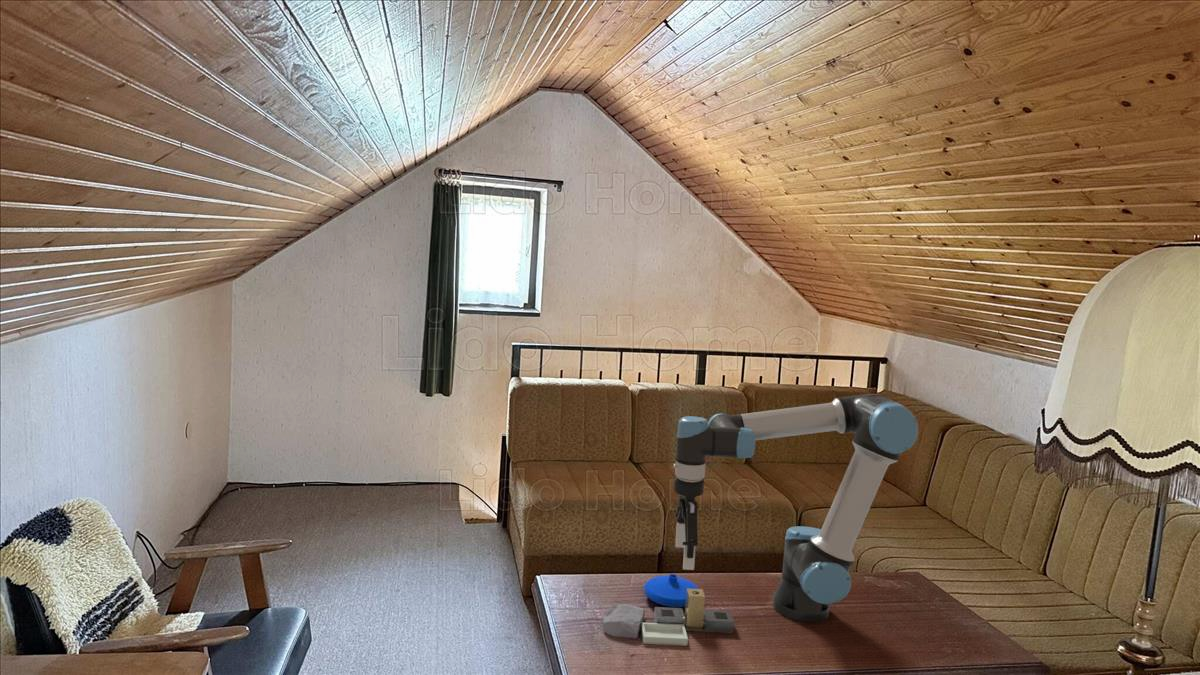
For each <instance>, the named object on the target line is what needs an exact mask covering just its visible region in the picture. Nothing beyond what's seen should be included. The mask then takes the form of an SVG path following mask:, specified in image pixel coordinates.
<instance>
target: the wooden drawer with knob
mask: <svg viewBox="0 0 1200 675" xmlns="http://www.w3.org/2000/svg"><path fill="white" fill-rule="evenodd" d="M705 602H706V596H705V593H704V589H702V588H698V589H687V590H686V602H685V606H684V617H685V629H703V628H704V626H703V617H704V609H705V605H706V604H705ZM703 630H704V629H703Z"/></svg>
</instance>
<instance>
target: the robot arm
mask: <svg viewBox="0 0 1200 675" xmlns="http://www.w3.org/2000/svg"><path fill="white" fill-rule="evenodd" d="M834 431H835V432H838V433H839V434H854V436H853V439H852V441H851V442H852V445H853V448H854V453H853V454H852V457H851V459H850V461H849V464H848V466H847V468H846V471H845V473H844V476H843V478H842V481H841V483H840V485H839V487H838V490H837V492H836V494H835V497H834V499H833V501H832V504H831V506H830V508H829V511H828V512H827V515H826V517H825V520H824V522H823V523H822V524H823V525H822V527H821V528H816V527H812V526H802V525H801V526H797V525H796V526H791V527H789V528H788V529H787V530H786V532H785V538H784V549H783V550H784V551H783V562H782V572H781V573H782V574H781V578H780V581H779V583H778V585H777V588H776V589H775V592H774V593H773V597H772V607H773V608H774V609H775V611H777V612H778V614H780V615H781V616H784V617H786V618H789V619H791V620H795V621H797V622H798V621H799V622H803V623H817V622H823V621H825V620H826V619H827V618H828V617H829V615H830V605H832V604H833V605H834V603H837V602H840V601H842V600H843V599H845V598H846V597H847V595H848V594H849V593H850V590H851V587H852V578H851V575H850V570H851V569H852V565H853V563H854V561H855V555H854V553H853V547H854V545H855V542H856V541H857V538H858V536H859V533H860V531H861V529H862V527H863V524H864V522H865V521H866V520H865V519H866V517H867V515H868V513H869V511H870V509H871V506H872V504H873V502H874V500H875V498H876V495H877V493H878V490H879V487H880V486H881V484H882V481H883V479H884V476H885V474H886V472H887V470H888V468H889V466H890V465H891V464H895V463H897V462H898V461H899V459H900V457H901V456H902V453H904V452H905V451H908V450H909V449H911V448H912V447H913V446H914V444H915V443H916V441H917V438H918V435H919V424H918V421H917V419H916V417H915V415H914V413H913V412H912V411H911V410H909V409H908V408H907V407H906V406H905V405H903V404H901V403H899V402H896V401H894V400H892V399H890V398H888V397H886V396H885V395H882V394H879V393H878V394H877V393H864V394H856V395H849V396H844V397H835V398H834V399H833V400H832V401H831V402H826V403H818V404H810V405H809V404H808V405H804V406H803V405H801V406H796V407H795V406H794V407H787V408H786V407H785V408H778V409H770V410H763V411H755V412H749V413H740V414H730V415H729V414H726V413H716V414H714V415H712V416H711V417H710V418H709V420H708V419H706V418H704V417H702V416H701V417H700V416H694V415H693V416H692V415H691V416H688V415H687V416H683V417H681V418H680V419H679V420H678V426H677V434H676V451H675V463H674V464H673V466H672V467H673V469H674V470H675V472H674V475H675V477H674V481H673V482H674V484H673V490H674V492H675V493H676V494H677V495H678V500H677V506H676V513H675V517H676V532H675V548H682V549H683V558H682V559H683V562H682V570H687V571H688V570H689V571H690V570H691V571H694V570H695V562H696V560H695V559H696V547H698V545H699V542H698V508H699V507H698V506H699V505H698V503H697V501H696V497H699V496H700V497H701V496H702V495H703V494H704V491H705V490H704V489H705V488H704V487H705V480H704V479H705V477H706V459H707V457H718V458H735V459H748V458H749V459H750V458H752V457H754V454H755V451H756V441H761V440H769V439H780V438H785V437H794V436H800V435H801V436H802V435H803V436H804V435H809V434H820V433H826V432H834Z"/></svg>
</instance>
